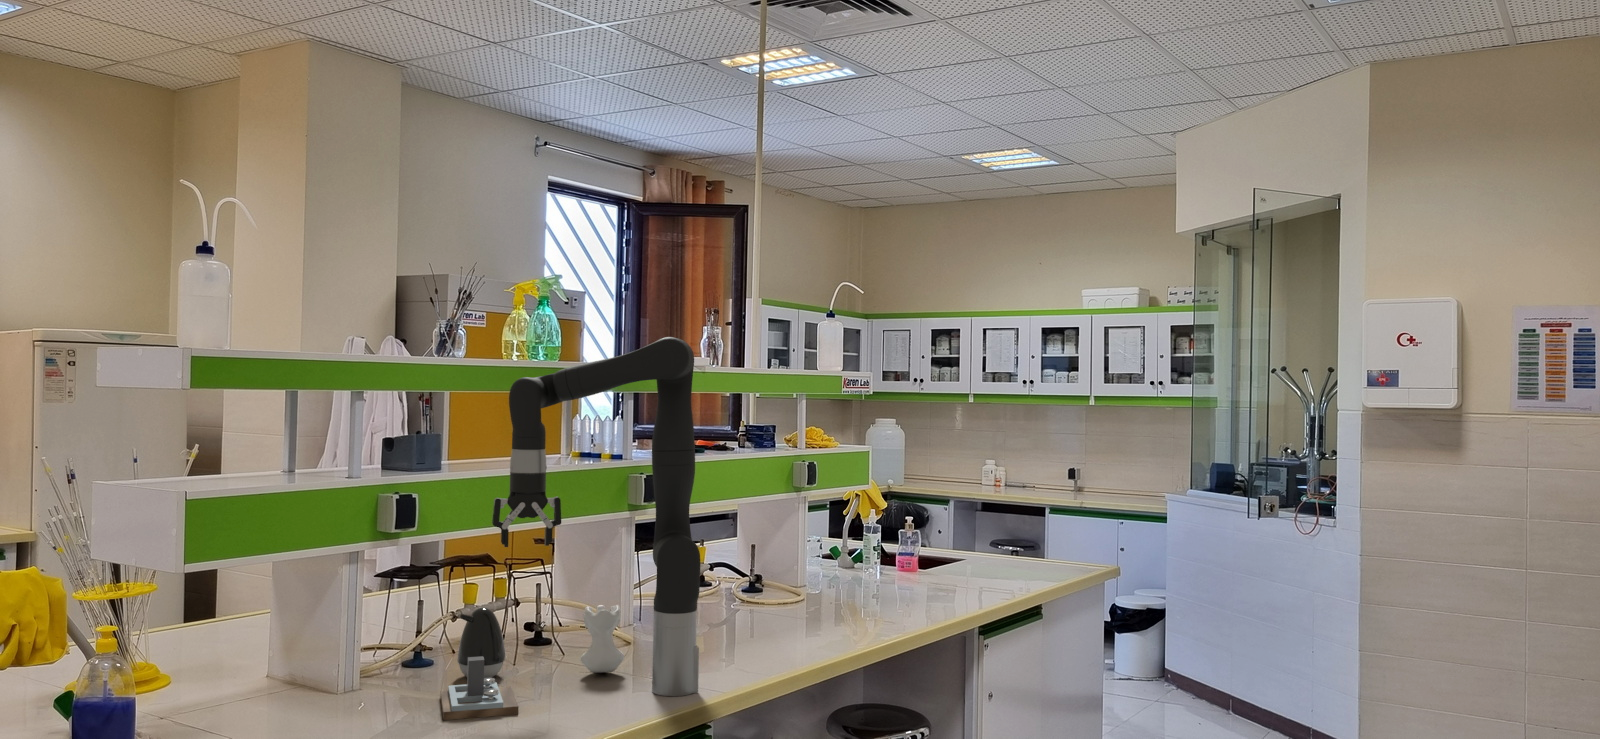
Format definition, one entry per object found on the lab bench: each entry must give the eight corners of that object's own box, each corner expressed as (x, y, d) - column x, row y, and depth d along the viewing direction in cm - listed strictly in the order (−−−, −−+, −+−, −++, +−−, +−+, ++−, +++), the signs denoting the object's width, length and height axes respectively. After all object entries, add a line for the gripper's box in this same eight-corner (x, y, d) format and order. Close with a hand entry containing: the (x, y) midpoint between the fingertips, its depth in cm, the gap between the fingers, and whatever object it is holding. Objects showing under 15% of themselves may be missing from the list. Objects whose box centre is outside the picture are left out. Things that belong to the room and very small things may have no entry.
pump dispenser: (447, 676, 246) (449, 607, 246) (490, 668, 253) (491, 601, 254) (470, 685, 239) (471, 614, 239) (513, 677, 246) (515, 608, 246)
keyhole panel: (496, 687, 232) (497, 648, 232) (503, 707, 217) (504, 666, 217) (448, 690, 228) (449, 651, 229) (451, 711, 213) (452, 669, 214)
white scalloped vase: (581, 680, 244) (582, 611, 245) (577, 668, 255) (579, 602, 256) (625, 677, 247) (626, 610, 247) (620, 666, 258) (621, 601, 258)
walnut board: (510, 693, 233) (511, 673, 233) (518, 714, 218) (518, 692, 218) (440, 698, 228) (440, 678, 228) (443, 720, 213) (443, 698, 213)
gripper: (559, 469, 245) (557, 543, 244) (492, 469, 240) (490, 544, 239) (564, 471, 238) (562, 547, 237) (495, 471, 233) (493, 549, 232)
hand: (526, 546), depth 238 cm, fingers open, 8 cm apart
